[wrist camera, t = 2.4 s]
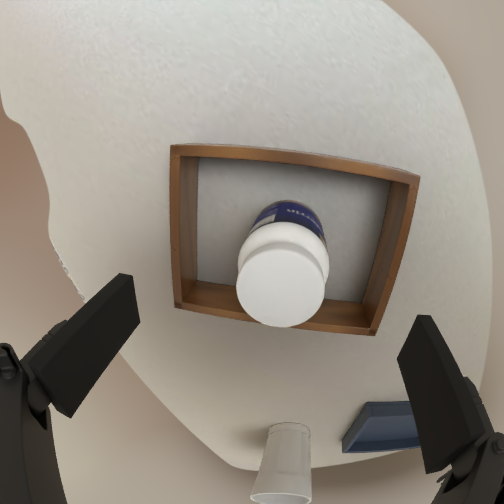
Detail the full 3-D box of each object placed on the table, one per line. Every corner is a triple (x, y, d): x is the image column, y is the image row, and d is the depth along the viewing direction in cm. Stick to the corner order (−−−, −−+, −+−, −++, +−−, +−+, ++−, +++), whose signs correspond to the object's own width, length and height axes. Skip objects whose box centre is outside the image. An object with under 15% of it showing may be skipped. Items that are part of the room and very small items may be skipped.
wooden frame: (401, 169, 20) (421, 176, 16) (367, 310, 25) (375, 336, 21) (190, 143, 22) (170, 144, 18) (189, 285, 27) (174, 307, 23)
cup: (252, 428, 36) (237, 495, 25) (295, 414, 33) (288, 490, 22) (283, 447, 37) (275, 508, 26) (325, 435, 34) (323, 502, 24)
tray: (453, 397, 28) (457, 409, 26) (420, 435, 33) (422, 447, 31) (366, 401, 30) (369, 417, 28) (341, 440, 35) (342, 453, 32)
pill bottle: (336, 233, 23) (356, 296, 14) (287, 274, 25) (278, 350, 16) (288, 183, 22) (280, 217, 13) (240, 230, 24) (204, 288, 15)
